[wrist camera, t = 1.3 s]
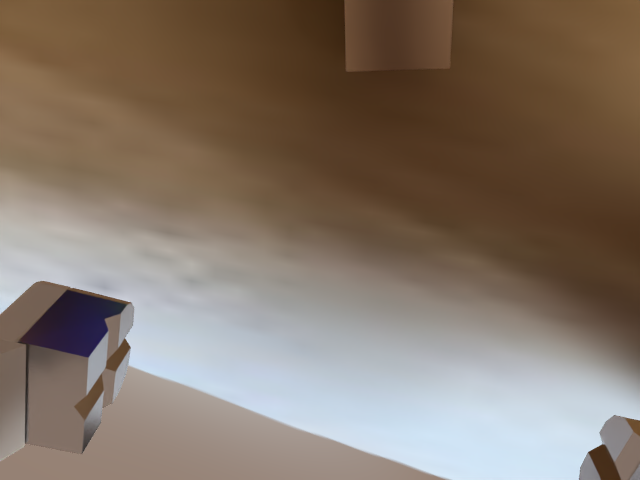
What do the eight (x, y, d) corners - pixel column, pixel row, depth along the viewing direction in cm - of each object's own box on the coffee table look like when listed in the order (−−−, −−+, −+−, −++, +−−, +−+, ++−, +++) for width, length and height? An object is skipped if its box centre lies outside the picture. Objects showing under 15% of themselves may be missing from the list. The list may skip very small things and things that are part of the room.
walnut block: (442, -44, 30) (455, -48, 26) (438, 56, 32) (450, 68, 28) (347, -39, 31) (343, -43, 26) (349, 59, 33) (346, 71, 28)
